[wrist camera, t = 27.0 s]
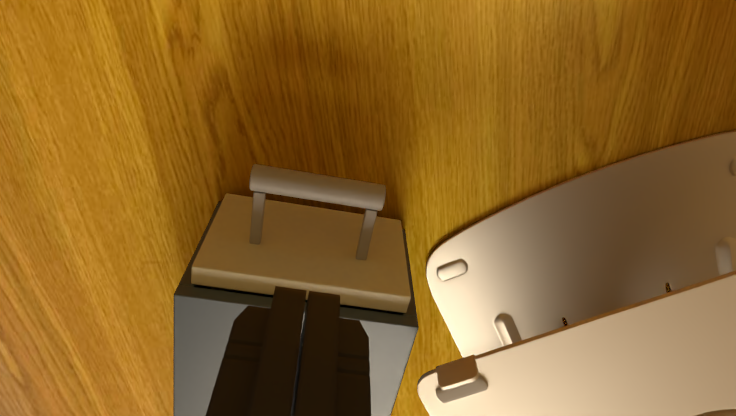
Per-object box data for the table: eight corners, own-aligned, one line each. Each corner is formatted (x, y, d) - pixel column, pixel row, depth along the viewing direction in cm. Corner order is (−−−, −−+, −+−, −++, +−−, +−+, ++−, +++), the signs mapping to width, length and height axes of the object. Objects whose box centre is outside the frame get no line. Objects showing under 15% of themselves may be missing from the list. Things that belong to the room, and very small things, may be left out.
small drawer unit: (218, 200, 34) (173, 294, 26) (405, 229, 35) (418, 327, 27) (210, 357, 41) (173, 470, 33) (365, 376, 43) (367, 489, 34)
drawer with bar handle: (229, 123, 31) (192, 184, 24) (417, 155, 32) (433, 222, 25) (217, 345, 39) (187, 436, 33) (363, 364, 41) (364, 455, 34)
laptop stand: (497, 438, 47) (552, 651, 33) (394, 241, 36) (414, 439, 23) (801, 349, 42) (1009, 558, 28) (788, 89, 31) (1117, 228, 17)
